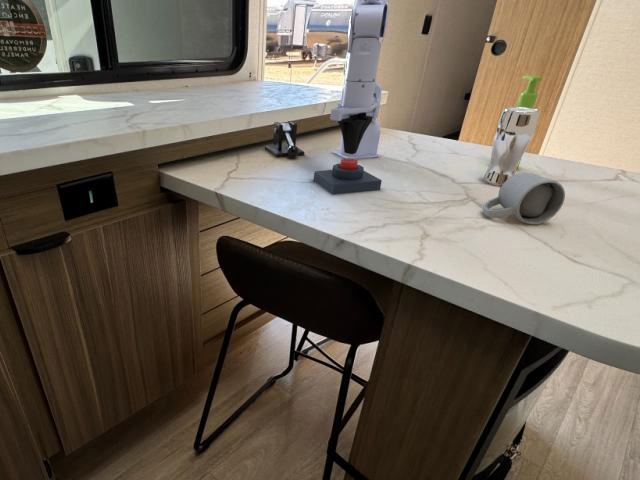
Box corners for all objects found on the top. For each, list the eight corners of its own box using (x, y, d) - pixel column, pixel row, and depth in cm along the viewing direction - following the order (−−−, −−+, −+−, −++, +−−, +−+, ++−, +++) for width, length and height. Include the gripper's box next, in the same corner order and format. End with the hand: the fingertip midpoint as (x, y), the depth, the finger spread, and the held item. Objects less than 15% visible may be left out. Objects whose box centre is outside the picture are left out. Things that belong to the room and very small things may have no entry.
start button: (351, 166, 91) (352, 157, 90) (359, 170, 88) (360, 162, 87) (336, 167, 90) (337, 159, 89) (344, 171, 87) (345, 163, 86)
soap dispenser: (509, 163, 106) (540, 74, 95) (521, 170, 100) (556, 77, 89) (485, 162, 107) (513, 74, 96) (496, 170, 101) (527, 77, 90)
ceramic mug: (527, 207, 79) (543, 167, 75) (555, 224, 72) (574, 181, 68) (472, 209, 79) (484, 168, 75) (494, 225, 72) (509, 182, 68)
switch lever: (298, 159, 110) (301, 151, 107) (288, 160, 109) (290, 151, 107) (287, 130, 115) (290, 121, 112) (277, 131, 114) (279, 122, 111)
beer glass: (521, 186, 90) (549, 112, 82) (489, 186, 90) (513, 112, 82) (505, 177, 96) (529, 106, 88) (474, 177, 96) (496, 106, 88)
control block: (357, 177, 96) (359, 159, 94) (380, 190, 88) (383, 171, 86) (313, 180, 94) (315, 163, 92) (333, 195, 86) (335, 175, 84)
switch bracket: (304, 156, 112) (306, 125, 108) (276, 158, 111) (277, 127, 106) (290, 147, 120) (292, 119, 116) (264, 149, 119) (265, 120, 114)
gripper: (362, 76, 87) (353, 144, 94) (320, 81, 78) (313, 155, 86) (393, 79, 82) (381, 149, 90) (352, 84, 74) (342, 162, 81)
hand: (350, 153), depth 87 cm, fingers closed
